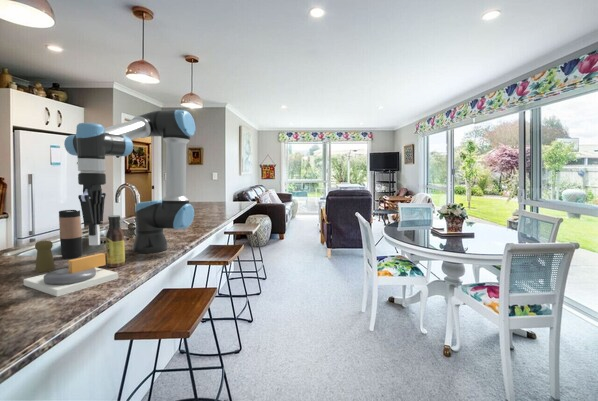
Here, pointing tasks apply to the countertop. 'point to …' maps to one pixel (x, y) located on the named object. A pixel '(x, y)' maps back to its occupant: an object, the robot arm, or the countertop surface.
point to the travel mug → (70, 234)
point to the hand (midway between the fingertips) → (94, 244)
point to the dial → (76, 270)
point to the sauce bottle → (115, 243)
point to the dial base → (64, 289)
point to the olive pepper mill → (44, 256)
